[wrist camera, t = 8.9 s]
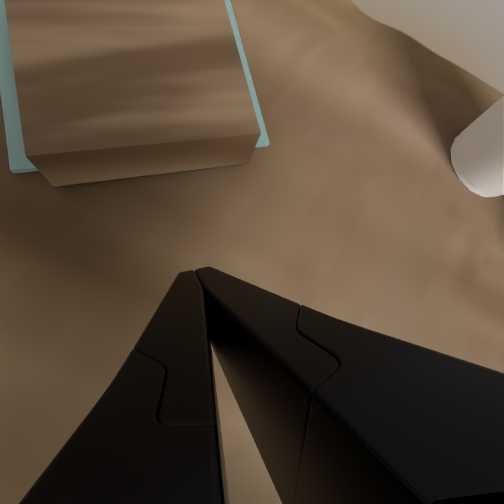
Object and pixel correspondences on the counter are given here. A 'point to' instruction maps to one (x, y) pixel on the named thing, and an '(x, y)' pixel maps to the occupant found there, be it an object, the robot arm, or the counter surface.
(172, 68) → the walnut block
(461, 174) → the foam cup
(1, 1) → the mat
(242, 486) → the counter surface
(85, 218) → the counter surface
